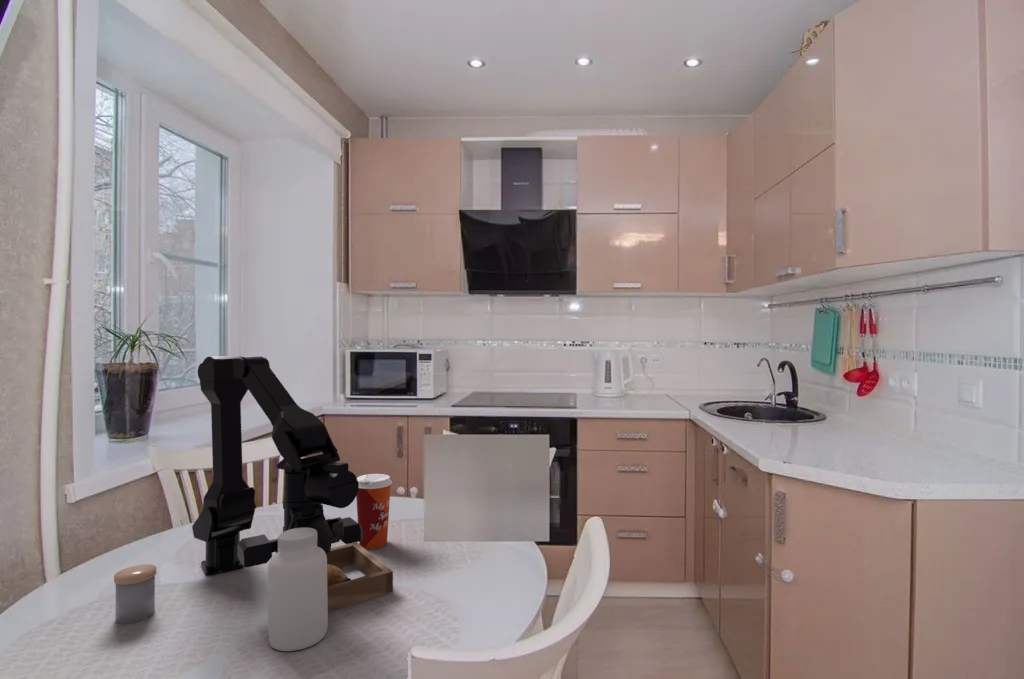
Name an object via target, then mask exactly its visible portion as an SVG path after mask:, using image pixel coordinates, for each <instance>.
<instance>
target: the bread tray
mask: <svg viewBox="0 0 1024 679" xmlns="http://www.w3.org/2000/svg"><path fill="white" fill-rule="evenodd" d="M326 556H327V564H329V565H333V566H337V567H338V568H342V567H345V566H350V565H354V567H356V568H357V569H358V570H359V571H360V572H361V573H363V576H360V577H356V578H353V579H351V580H349V581H345V582H342V583H338V584H334V585H331V586H327V598H328V613H329V612H333V611H336V610H340V609H343V608H345V607H349V606H353V605H355V604H358V603H361V602H364V601H368V600H371V599H375V598H378V597H382V596H384V595H387V594H390V593H391V594H392V593H393V592H394V571H393V570H392V569H390V567H388V566H387V565H386V564H385V563H383V562H382V561H381V560H379V559H378V558H377V557H375V555H373V554H372V553H370V552H369V551H368V549H364V548H363V547H362V546H361V545H359V542H355V543H350V544H344V545H339V546H335V547H331V551H330V552H329V553H327V554H326Z"/></svg>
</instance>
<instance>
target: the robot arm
mask: <svg viewBox="0 0 1024 679" xmlns="http://www.w3.org/2000/svg"><path fill="white" fill-rule="evenodd" d="M197 377H198V379H199V386H200V391H201V392H202V394H203V395H204V397H205V398H206V400H208V402H209V403H210V409H211V410H210V412H211V416H210V417H211V418H210V419H211V439H212V440H211V445H212V446H211V447H212V449H211V450H212V452H211V453H212V483H211V484H210V486H209V488H208V490H207V492H206V493H205V495H204V497H203V502H202V503H203V504H202V511H201V513H200V514H199V515H198V517H197V518H196V520H195V521H194V523H193V524H192V526H191V529H192V535H193V538H194V539H196V540H199V541H201V542H205V560H202V561H201V562H200V565H201V567H202V570H203V572H204V574H205V576H210V575H213V574H218V573H223V572H226V571H227V572H228V571H231V570H236V569H239V568H251V567H256V566H259V565H264V564H267V563H269V561H270V559H271V558H272V557H273V553H275V554H276V553H277V552H278V538H275V539H269V538H268V537H267V536H266V534H260V535H255V536H249V537H244V538H241V532H242V531H247V530H250V529H251V528H252V524H253V520H254V516H255V511H256V509H257V506H256V500H255V497H256V496H255V495H256V489H255V488H254V487H253V486H252V487H251V486H249V485H248V483H247V482H246V481H245V479H244V475H243V472H244V471H243V443H242V442H243V441H242V440H243V439H242V406H241V404H242V401H243V399H244V397H245V395H246V394H247V393H248V391H249V392H250V394H251V395H252V397H253V399H254V400H255V401H256V403H257V404H258V405H259V406H260V408H261V410H262V411H263V413H264V414H265V416H266V417H267V419H268V421H269V422H270V424H271V426H272V433H271V439H272V442H273V443H274V444H275V447H276V449H277V451H278V453H279V455H280V456H281V457H282V459H281V460H280V461H279V462H278V463H277V464H276V468H277V469H278V470H284V471H283V472H284V473H283V476H284V477H283V487H284V488H283V494H284V495H283V502H282V509H283V526H282V532H284V531H287V530H290V529H295V528H313V529H315V530H316V531H317V546H318V547H320V548H322V549H323V550H324V551H325V553H326V554H327V553H329V552H330V551H331V548H332V544H336V543H339V542H342V543H343V544H344V545H347V544H351V543H355V542H357V543H359V541H361V540H363V529H362V526H361V525H360V524H359V523H358V521H356V520H354V519H353V518H351V517H350V516H349V517H343V518H342V517H334V518H327V519H326V517H325V514H324V506H325V505H326V506H330V507H333V508H338V509H344V508H347V507H349V506H350V505H351V504H352V503H353V502H354V500H355V499H356V495H357V493H358V488H359V482H358V481H357V478H358V477H357V476H356V474H355V473H354V472H353V471H350V470H349V463H348V462H344V461H342V462H340V460H341V457H340V455H339V453H338V448H337V447H336V445H335V444H334V442H333V441H332V440H333V439H332V438H331V436H330V434H329V432H328V429H327V426H326V424H324V422H322V421H321V419H319V418H318V417H317V416H316V415H315V414H314V413H312V412H310V411H308V410H305V409H303V408H301V407H300V406H299V405H298V403H297V402H295V400H294V398H293V397H292V396H291V395H290V393H289V391H288V390H287V389H286V388H285V386H284V385H283V383H281V380H279V378H278V377H277V376H276V374H275V373H274V371H273V370H272V368H271V366H270V361H269V360H268V359H267V358H266V357H263V356H262V355H255V356H254V355H253V356H250V355H249V356H243V355H222V356H221V355H220V356H218V355H215V356H213V355H212V356H211V355H210V356H207V357H205V358H204V359H203V361H202V362H201V363H199V365H198V368H197ZM240 539H241V540H240Z"/></svg>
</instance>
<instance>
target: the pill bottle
mask: <svg viewBox="0 0 1024 679" xmlns="http://www.w3.org/2000/svg"><path fill="white" fill-rule="evenodd" d="M277 539H278V552H277V553H276V552H275V554H273V555H272V558H271V559H270V560H269V561H268V566H267V592H268V593H267V601H268V604H267V608H268V609H267V610H268V612H267V618H268V620H267V621H268V623H267V624H268V641H269V642H268V643H269V644H270V646H271V647H272V648H273V649H275V650H277V651H281V652H295V651H300V650H304V649H306V648H310V647H312V646H314V645H316V644H318V643H319V642H320V641H321V640H323V639H324V638H325V636H326V635H327V632H328V629H329V628H328V625H329V622H328V621H329V618H328V617H329V614H328V613H329V612H328V598H327V556H326V553H325V551H324V550H323V549H322V548H320V547H318V546H317V531H316V530H315V529H313V528H295V529H290V530H287V531H284V532H283V531H282V532H281V533H279V535H278V536H277Z"/></svg>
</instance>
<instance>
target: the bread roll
mask: <svg viewBox="0 0 1024 679" xmlns="http://www.w3.org/2000/svg"><path fill="white" fill-rule="evenodd" d="M349 580H352V579H351V577H348V576H347V575H346V574H345V572H344V571H343V570H342V569H341V567H339V568H338V567H337V566H333V565H329V564H327V586H331V585H334V584H338V583H342V582H345V581H349Z"/></svg>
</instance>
